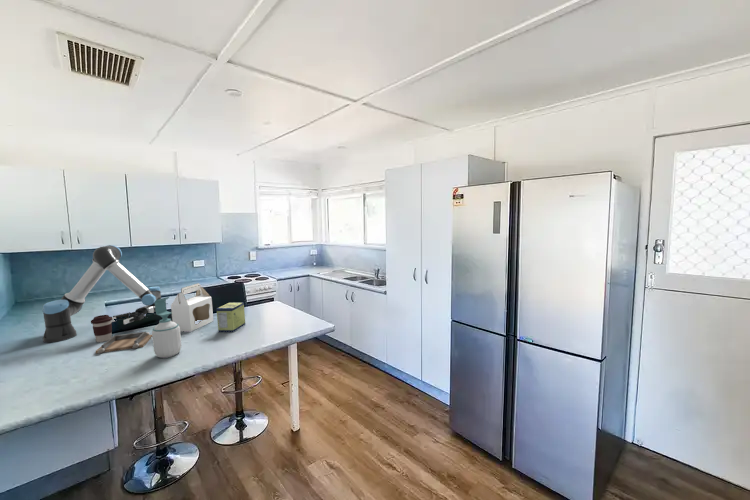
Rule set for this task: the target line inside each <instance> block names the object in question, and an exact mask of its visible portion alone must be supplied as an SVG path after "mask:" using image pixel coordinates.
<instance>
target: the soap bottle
mask: <svg viewBox="0 0 750 500" xmlns="http://www.w3.org/2000/svg"><path fill="white" fill-rule="evenodd" d="M168 299H170V296H167V297H163V298H162V297H161V299H158V300H156V301H155V310H156V314H155V315H157V316H159V317H161V318H162V319H159V323H158V324H157V325H155V326H154V327H153V328H152V331H151V335H152V344H153V345H152V346H153V353H154V354H155V356H156V358H160V359H167V358H171V357H174V356H177V354H179V353H180V352H181V349H182V337H181V331H180V327H179V326H178V325H179V324H177V323H175V322H173V321H172V318H168V317H169V315H172V311H168V310H167V300H168Z"/></svg>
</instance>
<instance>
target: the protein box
mask: <svg viewBox="0 0 750 500" xmlns="http://www.w3.org/2000/svg"><path fill="white" fill-rule="evenodd" d="M216 317H217V319H216V320H217V329H218V331H217V332H218V333H235V332H236V331H238V330H239V329H241V328H242V327H244V326H246V315H245V303H244V302H241V301H240V302H235V301H233V302H228V303H226V304H224V305H221V306H219V307H216Z"/></svg>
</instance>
